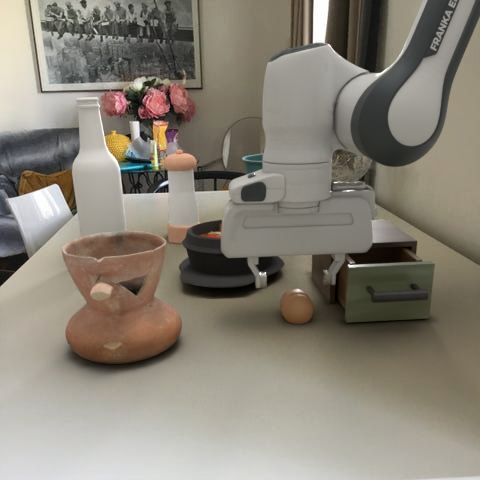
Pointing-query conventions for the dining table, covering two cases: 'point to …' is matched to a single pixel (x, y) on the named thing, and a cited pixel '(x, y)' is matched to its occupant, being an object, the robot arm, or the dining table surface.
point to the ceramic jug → (119, 297)
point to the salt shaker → (181, 195)
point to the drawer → (385, 285)
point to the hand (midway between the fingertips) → (295, 285)
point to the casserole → (218, 260)
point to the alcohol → (96, 175)
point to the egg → (296, 306)
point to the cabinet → (382, 238)
